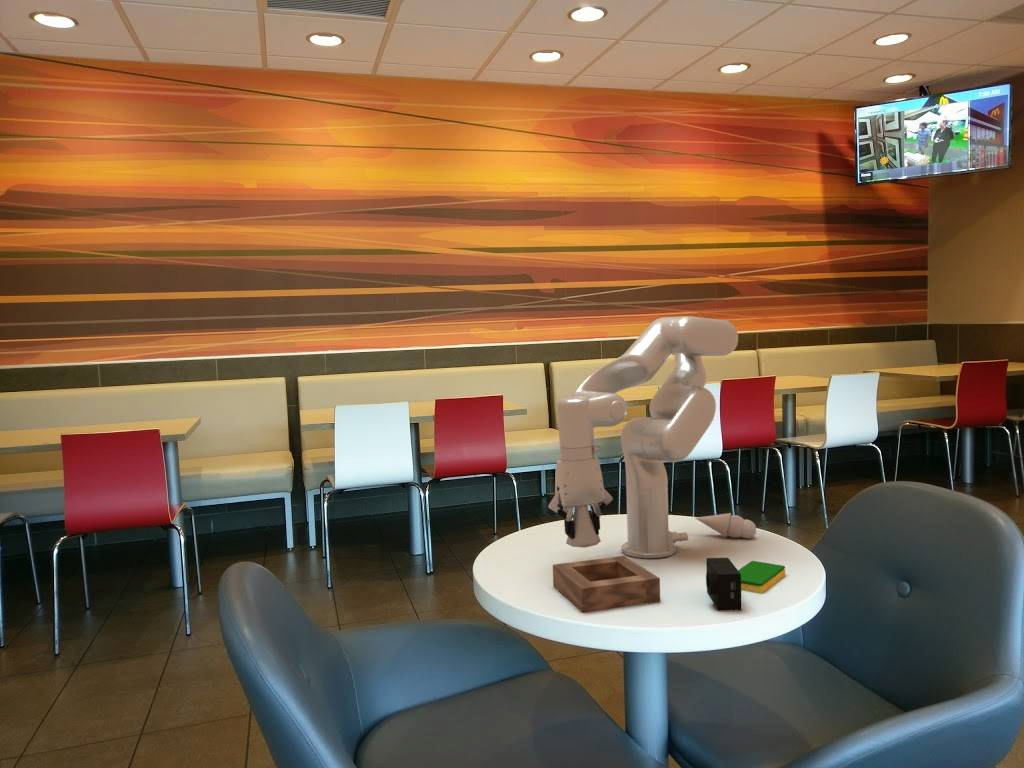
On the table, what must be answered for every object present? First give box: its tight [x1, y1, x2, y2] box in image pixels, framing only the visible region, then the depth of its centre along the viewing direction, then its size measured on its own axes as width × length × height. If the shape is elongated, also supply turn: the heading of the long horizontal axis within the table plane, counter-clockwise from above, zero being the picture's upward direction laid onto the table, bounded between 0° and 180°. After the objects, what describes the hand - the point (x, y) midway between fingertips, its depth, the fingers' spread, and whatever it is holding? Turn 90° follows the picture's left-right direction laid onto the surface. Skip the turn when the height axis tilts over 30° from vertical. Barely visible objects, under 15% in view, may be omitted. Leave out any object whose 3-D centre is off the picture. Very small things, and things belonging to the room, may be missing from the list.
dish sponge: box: [737, 560, 786, 594], centre depth 156 cm, size 7×14×2 cm, turn 142°
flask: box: [565, 505, 602, 548], centre depth 167 cm, size 7×7×10 cm
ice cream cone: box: [694, 512, 757, 539], centre depth 189 cm, size 6×6×15 cm
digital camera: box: [705, 557, 742, 612], centre depth 145 cm, size 10×5×7 cm, turn 177°
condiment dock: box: [552, 555, 661, 613], centre depth 151 cm, size 16×16×4 cm
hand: (582, 534), depth 167 cm, fingers closed on flask, 5 cm apart
